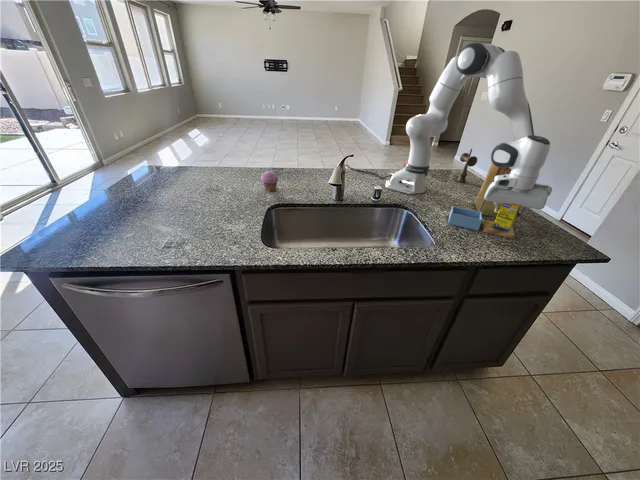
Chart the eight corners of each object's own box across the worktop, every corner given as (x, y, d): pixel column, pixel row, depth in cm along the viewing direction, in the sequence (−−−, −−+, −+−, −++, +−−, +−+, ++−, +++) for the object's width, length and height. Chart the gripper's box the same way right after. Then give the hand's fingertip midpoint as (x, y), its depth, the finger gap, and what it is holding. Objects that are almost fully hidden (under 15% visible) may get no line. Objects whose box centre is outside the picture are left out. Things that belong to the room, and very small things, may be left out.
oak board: (483, 231, 112) (484, 228, 112) (482, 222, 120) (483, 219, 119) (513, 238, 109) (515, 235, 108) (510, 228, 116) (512, 225, 115)
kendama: (460, 184, 162) (471, 150, 151) (452, 178, 170) (462, 146, 159) (469, 184, 162) (481, 150, 151) (461, 178, 170) (472, 146, 159)
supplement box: (492, 226, 112) (502, 202, 106) (496, 221, 116) (506, 198, 110) (508, 231, 108) (519, 206, 103) (512, 226, 112) (522, 202, 107)
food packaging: (499, 218, 124) (525, 165, 111) (477, 214, 127) (500, 161, 113) (493, 206, 135) (516, 156, 121) (473, 202, 137) (493, 153, 123)
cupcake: (273, 194, 138) (272, 175, 133) (259, 191, 141) (257, 173, 136) (281, 188, 146) (280, 170, 140) (267, 186, 148) (266, 168, 143)
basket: (448, 223, 118) (451, 213, 115) (449, 215, 124) (452, 205, 122) (478, 230, 113) (482, 220, 111) (477, 221, 120) (481, 211, 118)
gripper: (552, 183, 101) (536, 216, 108) (490, 175, 108) (479, 206, 115) (556, 188, 96) (539, 222, 103) (491, 179, 103) (480, 212, 110)
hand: (507, 214), depth 109 cm, fingers closed on supplement box, 7 cm apart
